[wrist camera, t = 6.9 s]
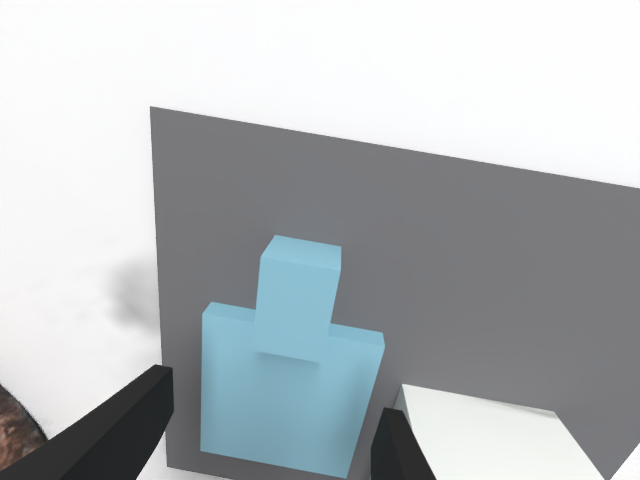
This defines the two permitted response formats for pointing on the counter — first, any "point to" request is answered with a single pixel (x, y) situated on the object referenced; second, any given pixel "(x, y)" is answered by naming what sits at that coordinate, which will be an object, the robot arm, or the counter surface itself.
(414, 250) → the mat
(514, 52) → the counter surface
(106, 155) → the counter surface
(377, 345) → the lid
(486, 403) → the tub
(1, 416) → the cooking pot
